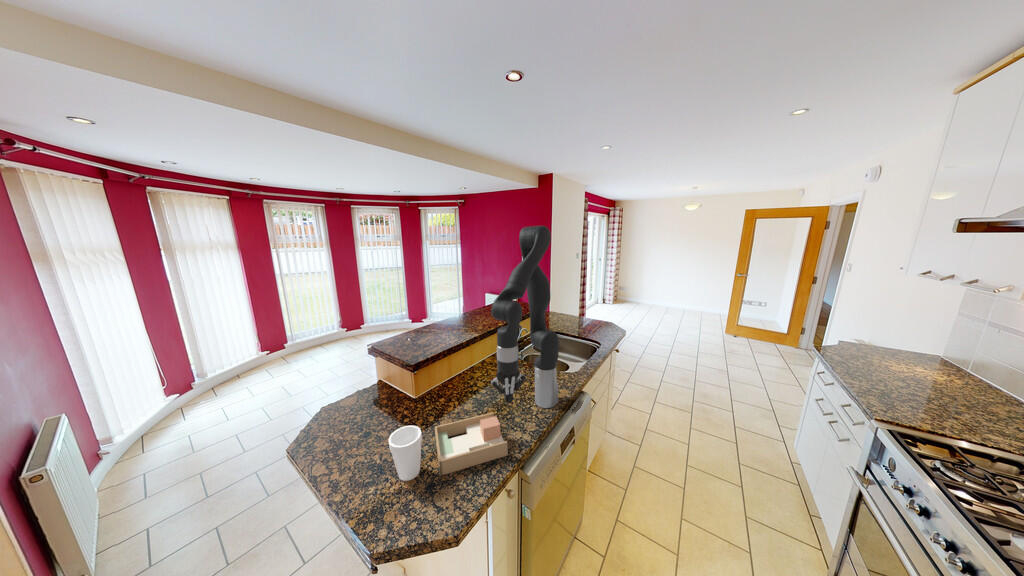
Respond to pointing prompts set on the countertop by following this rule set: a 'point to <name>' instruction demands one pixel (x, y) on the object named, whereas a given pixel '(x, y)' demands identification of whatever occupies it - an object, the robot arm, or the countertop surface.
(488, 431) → the block
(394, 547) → the countertop surface
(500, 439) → the box
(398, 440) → the foam cup
